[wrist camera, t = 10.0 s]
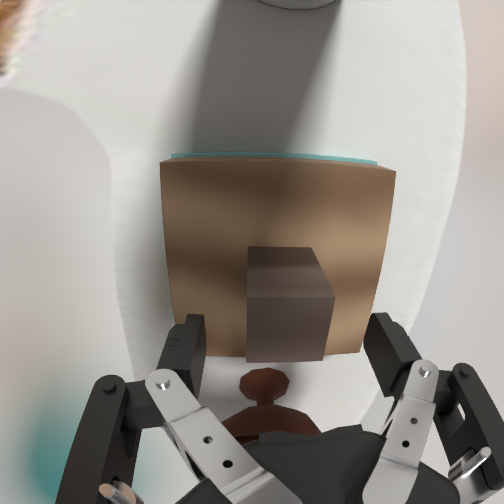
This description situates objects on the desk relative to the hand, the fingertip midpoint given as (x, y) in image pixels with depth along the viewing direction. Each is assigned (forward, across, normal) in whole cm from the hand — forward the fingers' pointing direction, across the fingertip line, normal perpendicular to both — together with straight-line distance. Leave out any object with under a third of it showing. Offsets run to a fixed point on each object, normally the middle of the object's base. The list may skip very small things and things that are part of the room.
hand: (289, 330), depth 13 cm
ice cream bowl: (+11, 0, +16) cm, 20 cm away
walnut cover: (+10, 0, 0) cm, 10 cm away
